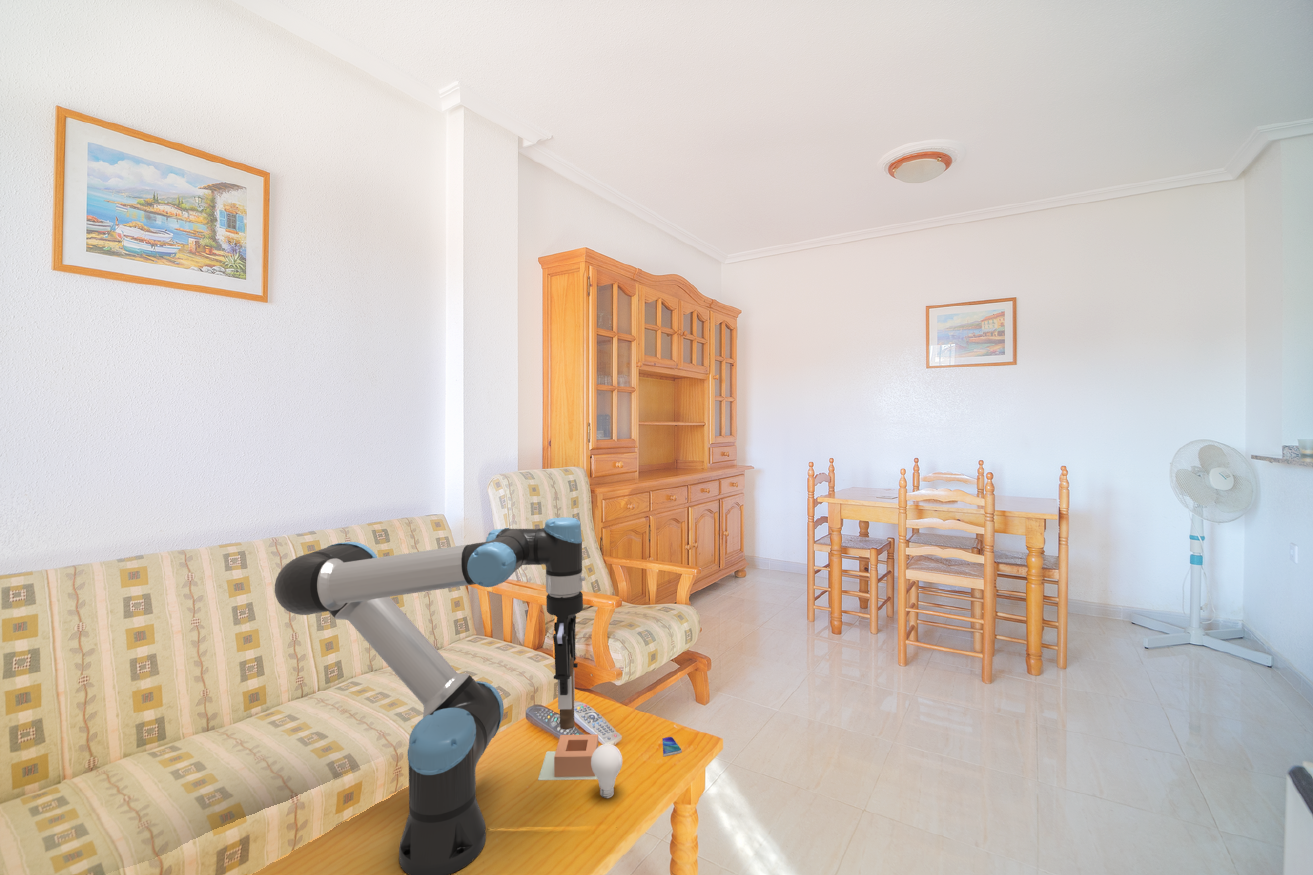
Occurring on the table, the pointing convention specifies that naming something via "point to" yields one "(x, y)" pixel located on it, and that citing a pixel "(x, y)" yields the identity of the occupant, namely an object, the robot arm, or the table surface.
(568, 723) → the dark brown rod
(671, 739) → the smartphone
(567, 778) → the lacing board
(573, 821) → the table surface
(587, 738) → the terracotta hollow block
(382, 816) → the table surface
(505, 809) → the table surface
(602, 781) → the light bulb
